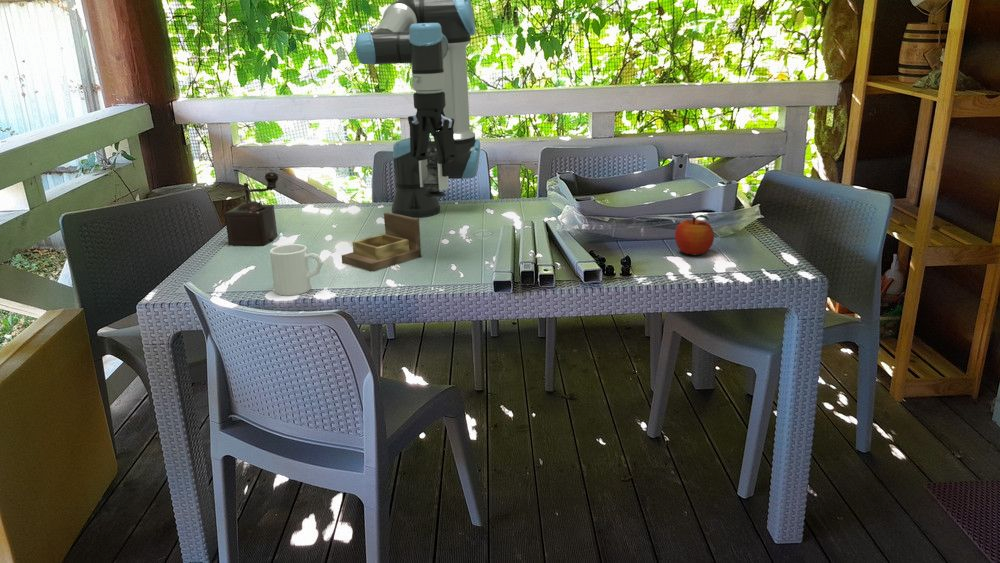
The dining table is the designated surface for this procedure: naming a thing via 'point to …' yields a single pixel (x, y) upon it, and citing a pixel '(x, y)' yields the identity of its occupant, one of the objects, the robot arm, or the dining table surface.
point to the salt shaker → (432, 175)
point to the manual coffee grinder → (252, 219)
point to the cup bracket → (387, 245)
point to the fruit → (694, 236)
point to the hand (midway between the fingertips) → (434, 187)
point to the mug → (292, 269)
